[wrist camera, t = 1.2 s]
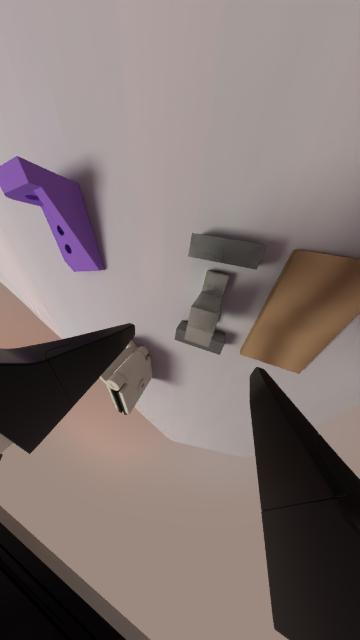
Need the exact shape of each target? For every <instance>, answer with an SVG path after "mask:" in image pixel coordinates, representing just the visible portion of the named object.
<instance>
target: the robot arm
mask: <svg viewBox="0 0 360 640" xmlns="http://www.w3.org/2000/svg"><path fill="white" fill-rule="evenodd" d="M134 335H135V325H134V324H131V323H128V324H124V325H120V326H116V327H112V328H108V329H104V330H99V331H95V332H91V333H87V334H83V335H79V336H75V337H71V338H66V339H62V340H58V341H52V342H47V343H42V344H37V345H32V346H27V347H21V348H14V349H0V460H1V457H2V454H1V453H2V452H3V451H4V450H6V449H7V448H8V447H9V446H10V445H11V444H12V443H15V444H16V445H17V446H19V447H20V448H22V449H23V450H25V451H26V452H28V453H29V454H30V453H31V452H32V451H33V450H34V449H35V448H36V447H37V446H38V445H39V444H40V443H41V442H42V440H43V439H44V438H45V437H46V436H47V435H48V434H49V433H50V432H51V430H52V429H53V428H54V427H55V426H56V425H57V424H58V423H59V422H60V421H61V419H62V418H63V417H64V416H65V415H66V414H67V413H68V412H69V411H70V410H71V408H72V407H73V406H74V405H75V404H76V403H77V402H78V400H79V399H80V398H81V397H82V396H83V395H84V394H85V393H86V392H87V390H88V389H89V388H90V387H91V386H92V385H93V384H94V383H95V382H96V381H97V379H98V378H99V377H100V376H101V375H102V374H103V373H104V372H105V371H106V369H107V368H108V367H109V366H110V365H111V364H112V363H113V362H114V361H115V360H116V358H117V357H118V356H119V355H120V354H121V353H122V352H123V350H124V349H125V348H126V346H127V345H128V344H129V342H130V341H131V340H132V338H133V337H134ZM250 409H251V419H252V428H253V437H254V447H255V456H256V465H257V474H258V484H259V493H260V502H261V510H262V512H261V513H262V522H263V531H264V541H265V550H266V559H267V569H268V578H269V587H270V596H271V606H272V614H273V622H274V628H275V630H276V631H278V632H279V633H280V634H282V635H283V636H284V637H286V638H287V639H289V640H360V479H359V478H358V477H357V476H356V475H355V474H354V472H353V471H352V470H351V469H350V468H349V467H348V466H347V465H346V464H345V463H344V462H343V461H342V459H341V458H340V457H339V456H338V455H337V454H336V452H335V451H334V450H333V449H332V448H331V447H330V446H329V445H328V443H327V442H326V441H325V440H324V439H323V437H322V436H321V435H319V433H318V432H317V431H316V429H315V428H314V427H313V426H312V425H311V423H310V422H309V421H308V420H307V419H306V418H305V416H304V415H303V414H302V413H301V412H300V411H299V409H298V408H297V407H296V406H295V405H294V404H293V402H292V401H291V400H290V399H289V398H288V397H287V395H286V394H285V393H284V392H283V391H282V390H281V388H280V387H279V386H278V385H277V384H276V383H275V381H274V380H273V379H272V378H271V377H270V376H269V374H268V373H267V372H266V371H265V370H264V369H262V368H259V367H256V368H255V369H254V371H253V372H252V374H251V375H250ZM0 640H150V639H149V638H148V637H147V636H146V635H144V634H143V633H142V632H141V631H140V630H139V629H138V628H137V627H135V626H134V625H133V624H132V623H131V622H130V621H129V620H128V619H127V618H125V617H124V616H123V615H122V614H121V613H120V612H119V611H118V610H116V609H115V608H114V607H113V606H112V605H111V604H110V603H108V601H106V600H105V599H104V598H103V597H102V596H101V595H100V594H98V593H97V592H96V591H95V590H94V589H93V588H92V587H91V586H89V585H88V584H87V583H86V582H85V581H84V580H83V579H82V578H81V577H79V576H78V575H77V574H76V573H75V572H74V571H73V570H72V569H71V568H69V567H68V566H67V565H66V564H65V563H64V562H63V561H62V560H60V559H59V558H58V557H57V556H56V555H55V554H54V553H53V552H51V551H50V550H49V549H48V548H47V547H46V546H44V544H42V543H41V542H40V541H39V540H38V539H37V538H36V537H34V535H32V534H31V533H30V532H29V531H28V530H27V529H26V528H24V527H23V526H22V525H21V524H20V523H19V522H18V521H17V520H16V519H14V518H13V517H12V516H11V515H10V514H9V513H7V511H5V510H4V509H3V508H2V507H1V506H0Z"/></svg>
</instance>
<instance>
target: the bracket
mask: <svg viewBox="0 0 360 640" xmlns="http://www.w3.org/2000/svg"><path fill="white" fill-rule="evenodd" d="M0 187H1V189H2V191H3V193H4V195H5V196H6V197H8V198H11V199H14V200H17V201H21V202H25V203H29V204H33V205H38V206H41V207H42V210H43V212H44V214H45V217H46V219H47V221H48V223H49V226H50V228H51V230H52V233H53V235H54V237H55V240H56V242H57V244H58V247H59V249H60V251H61V253H62V256H63V258H64V260H65V262H66V263H67V264H68V265H69V266H70V267H71V269H72V270H73V271H74V272H76V271H96V270H105V269H104V265H103V262H102V259H101V256H100V253H99V249H98V246H97V243H96V240H95V237H94V233H93V230H92V227H91V224H90V220H89V217H88V214H87V211H86V208H85V204H84V201H83V198H82V195H81V192H80V188H79V185H78V184H77V183H75V182H73V181H71V180H69V179H66V178H64V177H62V176H60V175H58V174H55V173H53V172H51V171H49V170H47V169H44V168H42V167H40V166H38V165H36V164H33V163H31V162H29V161H27V160H25V159H22V158H20V157H18V156H16V157H14V158H13V159H11V160H9V161H8V162H6V163H4V164H3V165H1V166H0Z"/></svg>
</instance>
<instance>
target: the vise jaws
mask: <svg viewBox="0 0 360 640" xmlns="http://www.w3.org/2000/svg"><path fill="white" fill-rule="evenodd" d="M266 247H267V245H266V244H260V243H253V242H247V241H240V240H233V239H227V238H220V237H214V236H207V235H200V234H194V233H192V237H191V243H190V249H189V255H188V256H189V257H194V258H200V259H205V260H210V261H215V262H220V263H226V264H231V265H236V266H241V267H246V268H252V269H257V267H258V265H259V263H260V260H261V258H262V256H263V254H264V251H265V249H266ZM187 324H188V322H185V321H181V323H180V324H179V326H178V327H177V329H176V335H175V340H178V341H180V342H183V343H186V344H189V345H192V346H195V347H198V348H201V349H204V350H207V351H210V352H213V353H216V354H219V355H220V353H221V351H222V348H223V346H224V342H225V333H221V332H218V331H215V330H214V333H213V336H212V338H211V341H210V344H209V347H206V346H203V345H200V344H197V343H194V342H191V341H188V340H185V339H184V338H185V334H186V329H187Z"/></svg>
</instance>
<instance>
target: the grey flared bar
mask: <svg viewBox="0 0 360 640" xmlns="http://www.w3.org/2000/svg"><path fill="white" fill-rule="evenodd" d="M228 278H229V275H228V274H224V273H219V272H214V271H209V270H208V271H207V273H206V277H205V281H204V285H203V289H202V292H201V293H200V295H199V296H198V298H197V299H196V301H195V302H194V304H193V305H192V307H191V310H190V315H189V320H188V324H187V329H186V334H185V338H184V339H185V340H188V341H191V342H194V343H197V344H200V345H203V346H206V347H209V344H210V341H211V338H212V336H213V333H214V330H215V327H216V324H217V321H218V319H219V316H220V310H221V303H222V296H223V293H224V290H225V287H226V284H227V281H228Z"/></svg>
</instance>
